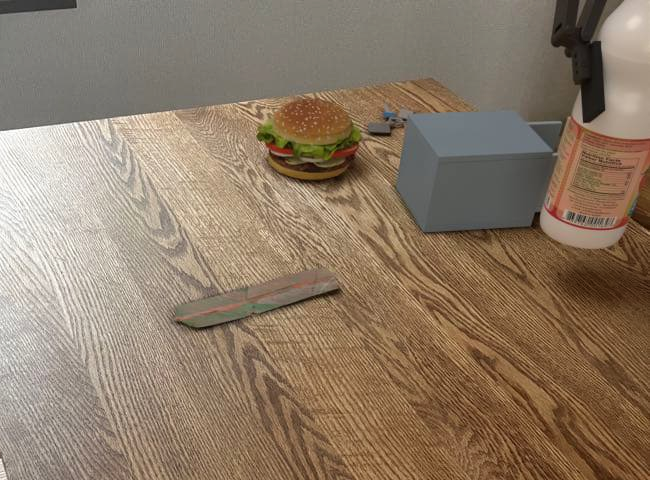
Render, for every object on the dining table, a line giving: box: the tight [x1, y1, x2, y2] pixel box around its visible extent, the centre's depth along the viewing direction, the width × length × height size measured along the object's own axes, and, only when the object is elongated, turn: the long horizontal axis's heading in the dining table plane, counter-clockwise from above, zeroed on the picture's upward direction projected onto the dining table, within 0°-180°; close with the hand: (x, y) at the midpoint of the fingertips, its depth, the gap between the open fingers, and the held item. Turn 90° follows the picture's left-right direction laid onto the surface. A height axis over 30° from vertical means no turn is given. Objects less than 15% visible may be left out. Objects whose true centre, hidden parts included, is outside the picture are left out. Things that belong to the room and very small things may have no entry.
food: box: [256, 97, 363, 181], centre depth 114 cm, size 14×14×8 cm
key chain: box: [367, 103, 415, 134], centre depth 127 cm, size 14×8×1 cm, turn 124°
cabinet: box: [395, 109, 553, 233], centre depth 106 cm, size 15×13×10 cm
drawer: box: [525, 116, 571, 213], centre depth 108 cm, size 19×11×8 cm, turn 100°
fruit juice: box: [539, 0, 650, 250], centre depth 83 cm, size 9×9×28 cm
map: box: [173, 267, 340, 328], centre depth 93 cm, size 5×20×1 cm, turn 118°
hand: (640, 115), depth 81 cm, fingers closed on fruit juice, 9 cm apart
